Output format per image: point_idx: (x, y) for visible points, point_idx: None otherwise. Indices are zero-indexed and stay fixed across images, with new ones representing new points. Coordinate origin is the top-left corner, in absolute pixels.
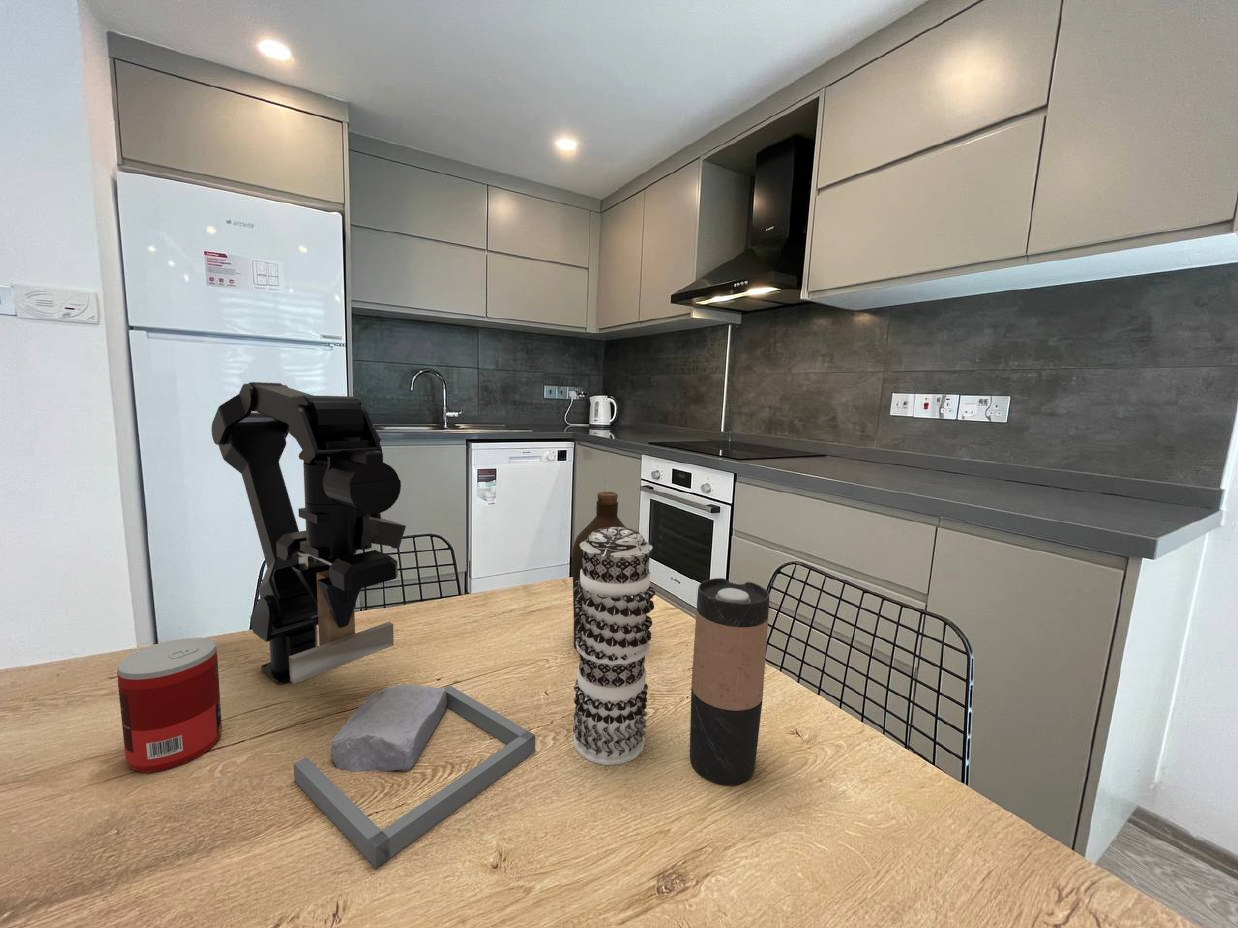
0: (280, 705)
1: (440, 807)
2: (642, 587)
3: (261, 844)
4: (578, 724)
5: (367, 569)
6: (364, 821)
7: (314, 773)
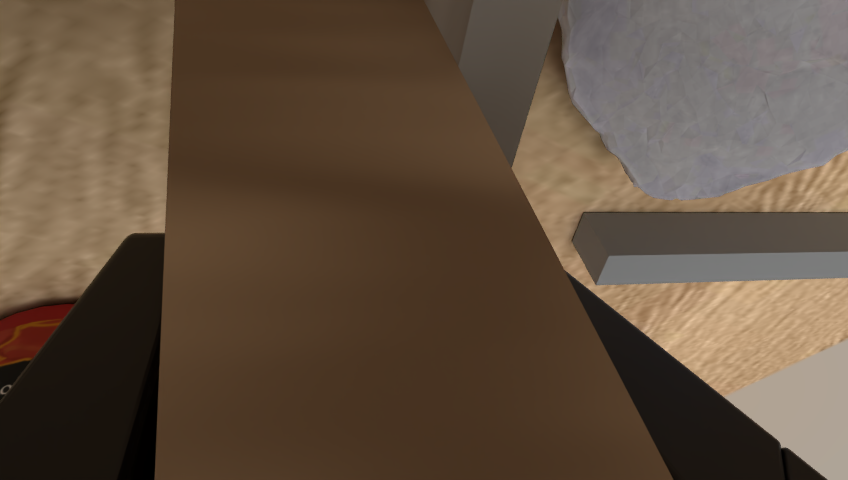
0: (35, 104)
1: None
2: None
3: (667, 334)
4: None
5: None
6: None
7: (692, 267)
